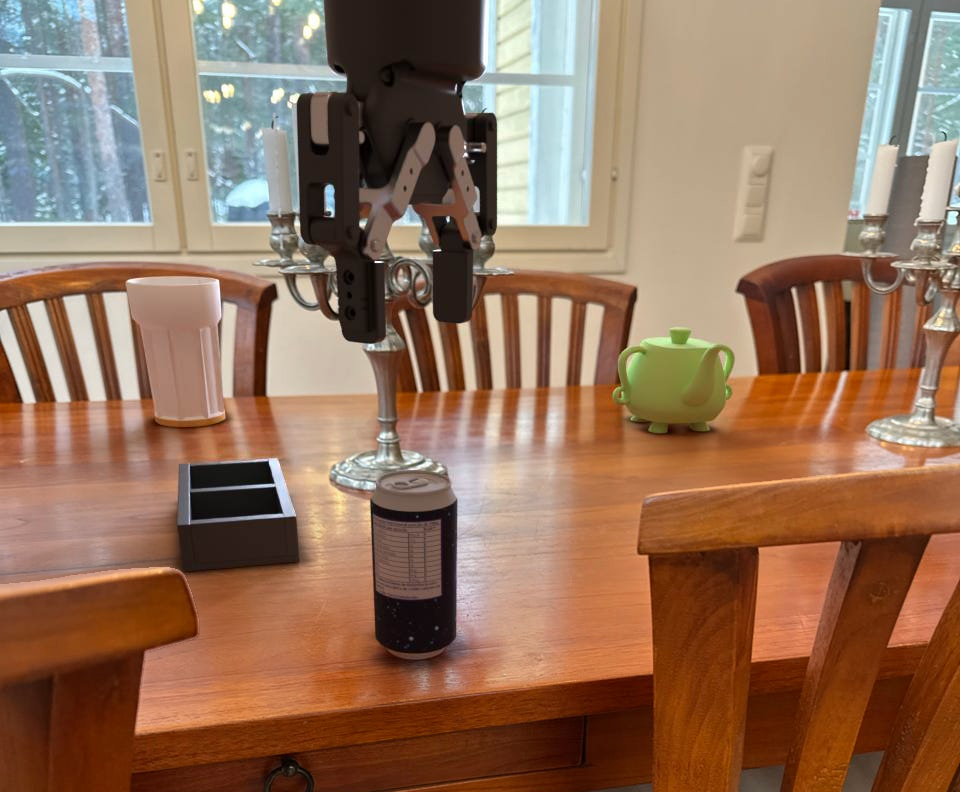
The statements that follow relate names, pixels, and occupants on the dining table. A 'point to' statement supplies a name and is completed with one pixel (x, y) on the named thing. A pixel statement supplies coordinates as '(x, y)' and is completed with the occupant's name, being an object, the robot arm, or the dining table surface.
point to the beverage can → (414, 562)
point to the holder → (235, 515)
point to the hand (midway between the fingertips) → (411, 331)
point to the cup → (180, 346)
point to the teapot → (674, 381)
